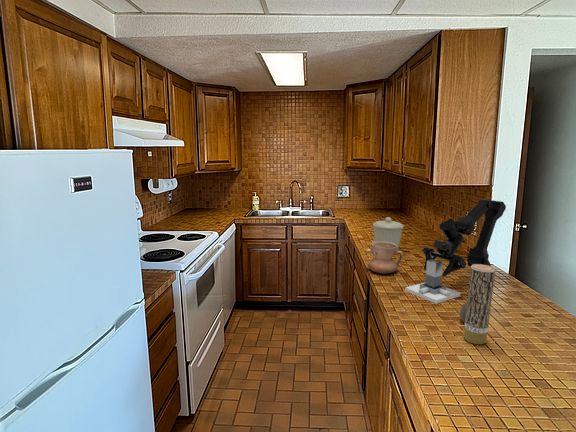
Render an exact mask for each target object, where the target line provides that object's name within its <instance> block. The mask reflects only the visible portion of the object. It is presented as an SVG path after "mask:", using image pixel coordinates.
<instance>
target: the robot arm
mask: <svg viewBox="0 0 576 432" xmlns="http://www.w3.org/2000/svg"><path fill="white" fill-rule="evenodd" d="M506 208H507V205H506V204H505V202H504V201H500V200H499V201H498V200H493V199H486V198H485V199H484V198H482V199H479V200H478V202H477V204H476V205H475V206H474V207H473V208H472V209H471V210H470V211H469V212H468V213H467V214H466V215H465V216H461V217H459V218H458V219H457V220H454V219H453V218H448V219H447V220H444V221H443V222H440V225H439V230H440V231H441V232H442V234H443V236H445V238H446V240H444V241H441V240H438V239H434V243H433V245H432V248H431V247H429V246H424V247H423V249H422V250H421V251H422V253H423V255H424V256H425V260H424V261H425V262H424V266H423V270H424V271H426V267H427V261H428V260H432V259H435V260H436V259H437V258H438V259H441V260H445V261H448V265H447V266H446V267H445V269H444V271H442V278H443V277H446V276H448V275H449V274H451V273H453V272H455V271H457V270H459V271H460V270H461V269H463V270H464V269H465V268H466V267H471V265H473V264H483V265H488V266H491V267H492V264H491V262H490V260H489V258H490V257H489V256H490V255H489V253H488V252H489V251H488V247H489V244H490V241H491V240H492V239H491V238H492V235H493V232H494V229H495V227H496V223H497V221H498V220H499V219H500V218H502V216H503V214H504V212H505V211H506ZM482 216H484V217H485V218H484V221H483V223H482V227H481V230H480V232H479V235H478V238H477V241H476V243H475V246H474V247H470V248H469V250H468V253H467V256H466V260H465V259H464V258H463V256H461V255H457V253H458V252H459V251H458V249H459V248H460V246H461V244H466V240H465V236H470V235H471V234H472V233H473V231H474V229H475V224H476V223H477V222H478V221H479V220H480V219H481V217H482ZM463 235H465V236H463ZM434 248H436V251H437V252H436V251H435V250H434ZM466 261H467V262H466ZM469 281H470V278H469Z"/></svg>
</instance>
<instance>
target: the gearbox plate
mask: <svg viewBox="0 0 576 432" xmlns="http://www.w3.org/2000/svg"><path fill="white" fill-rule="evenodd" d="M404 291H405V292H407V293H409V294H412V295H414V296H417V297H419V298H421V299H424V300H426V301H428V302H431V303H433V304H436V305H437V304H439V303H443V302H445V301H449V300H452V299H455V298H456V299H457V298H459V297H461V293H462V292H461V291H460V292H459V291H457V290H454V289H452V288H449V287H447V286H444V285H442V284H441V288H438V289H435V290H434V289H432V288H429V287H426V286H425V281H424V282H421V283H418V284H413V285H410V286H407V287H405V288H404Z"/></svg>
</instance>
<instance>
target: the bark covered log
mask: <svg viewBox="0 0 576 432" xmlns="http://www.w3.org/2000/svg"><path fill="white" fill-rule="evenodd" d="M495 274H496V269H495V267H494V266H492V265H491V266H488V265H483V264H473V265H471V266H470V273H469V275H470V276H469V279H470V280H469V283H468V293H467V301H466V302H467V309H466V319H465V323H464V330H463V338H464V340H466V342H469V343H470V344H474V345H484V344H486V343H487V339H488V331H489V324H490V317H491V306H492V298H493V289H494V281H495Z"/></svg>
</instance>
